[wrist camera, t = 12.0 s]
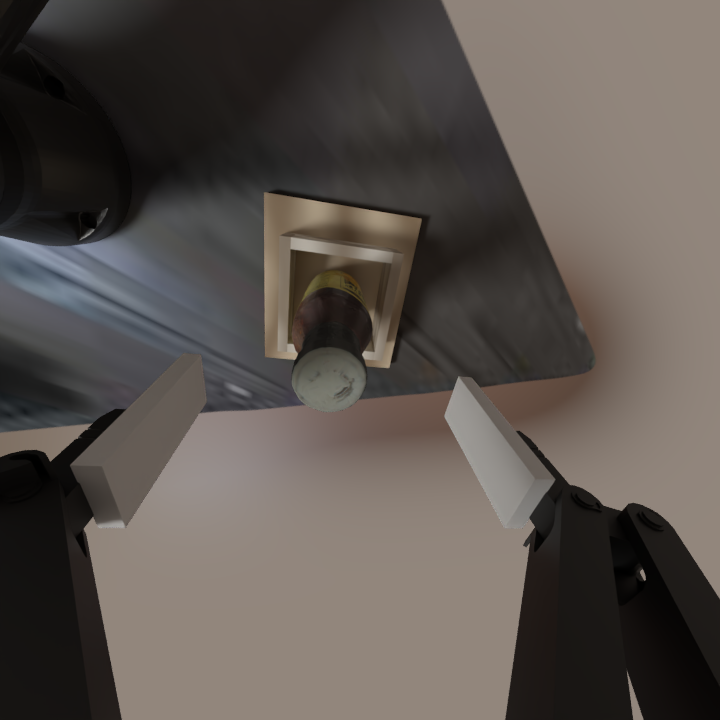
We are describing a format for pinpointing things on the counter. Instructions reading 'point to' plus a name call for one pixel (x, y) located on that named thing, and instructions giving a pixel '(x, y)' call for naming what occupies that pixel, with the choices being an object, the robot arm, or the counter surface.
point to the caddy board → (335, 265)
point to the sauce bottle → (331, 342)
